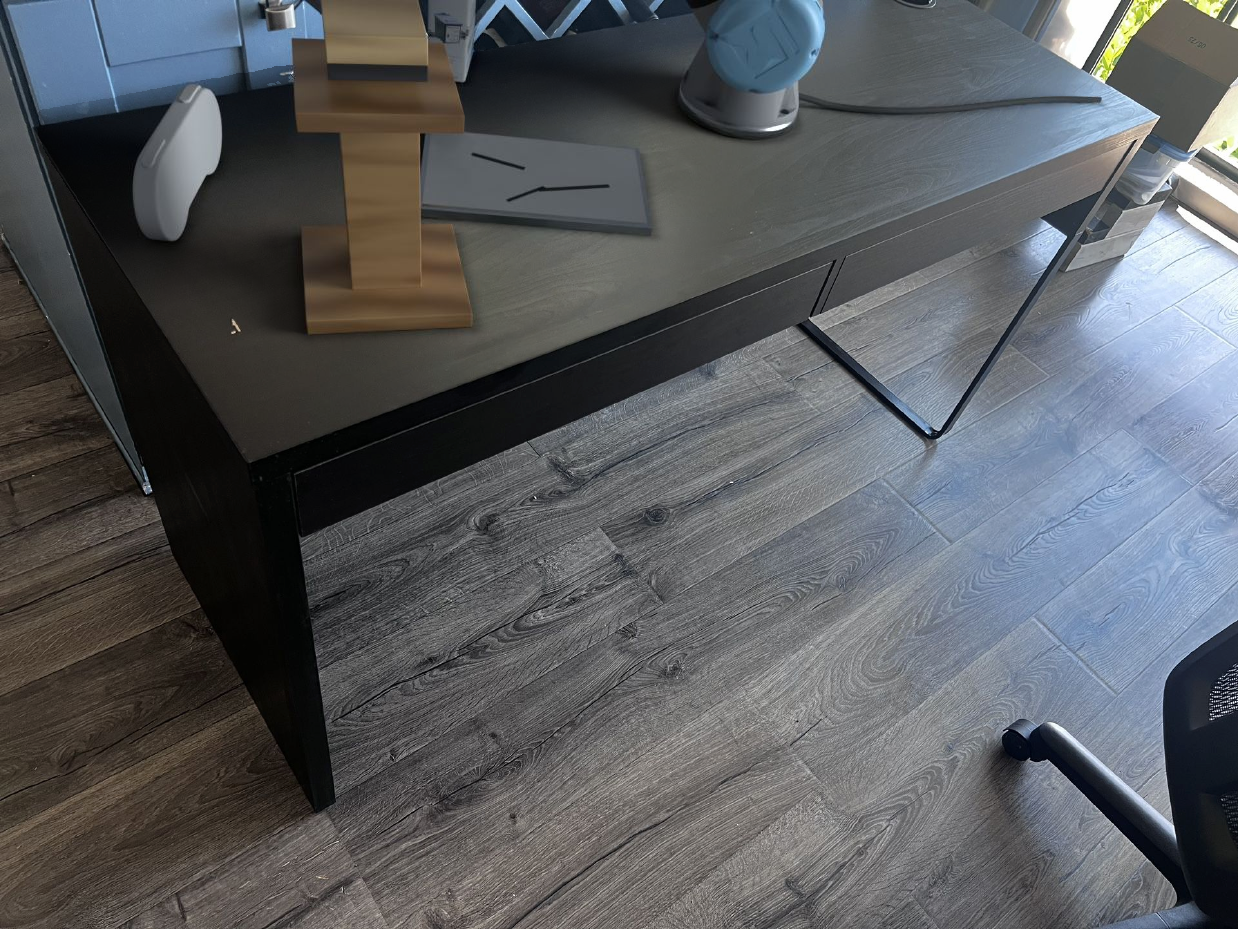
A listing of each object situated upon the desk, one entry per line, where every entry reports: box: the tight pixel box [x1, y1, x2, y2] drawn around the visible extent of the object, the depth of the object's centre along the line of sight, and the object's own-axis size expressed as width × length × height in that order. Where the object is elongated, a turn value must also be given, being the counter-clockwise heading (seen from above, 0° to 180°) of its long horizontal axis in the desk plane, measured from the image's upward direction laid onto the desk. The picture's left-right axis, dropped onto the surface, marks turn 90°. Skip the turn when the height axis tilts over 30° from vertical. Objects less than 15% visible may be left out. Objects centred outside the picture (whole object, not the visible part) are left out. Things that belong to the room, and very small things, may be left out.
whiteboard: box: [420, 131, 654, 237], centre depth 101 cm, size 24×16×1 cm, turn 94°
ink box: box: [427, 0, 477, 83], centre depth 113 cm, size 9×5×12 cm, turn 179°
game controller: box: [132, 83, 223, 242], centre depth 88 cm, size 20×2×8 cm, turn 1°
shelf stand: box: [291, 37, 473, 335], centre depth 79 cm, size 14×14×20 cm
